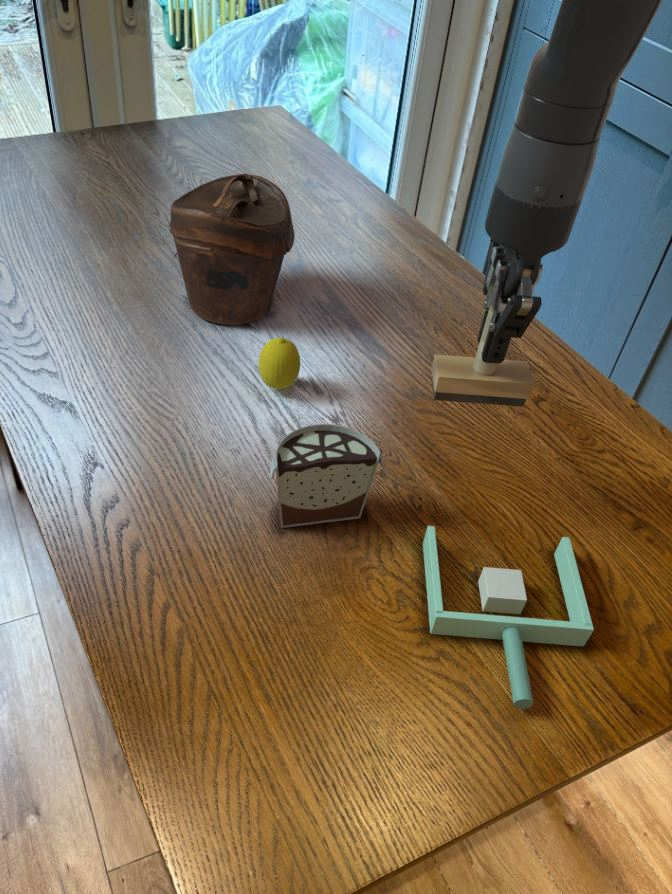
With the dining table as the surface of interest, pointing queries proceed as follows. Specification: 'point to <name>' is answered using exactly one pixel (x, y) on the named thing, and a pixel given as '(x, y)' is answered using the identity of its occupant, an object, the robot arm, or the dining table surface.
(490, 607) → the white square block
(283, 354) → the lemon
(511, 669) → the goalpost shaped holder
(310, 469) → the cupcake
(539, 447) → the dining table surface
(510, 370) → the brush
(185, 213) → the case
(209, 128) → the dining table surface
